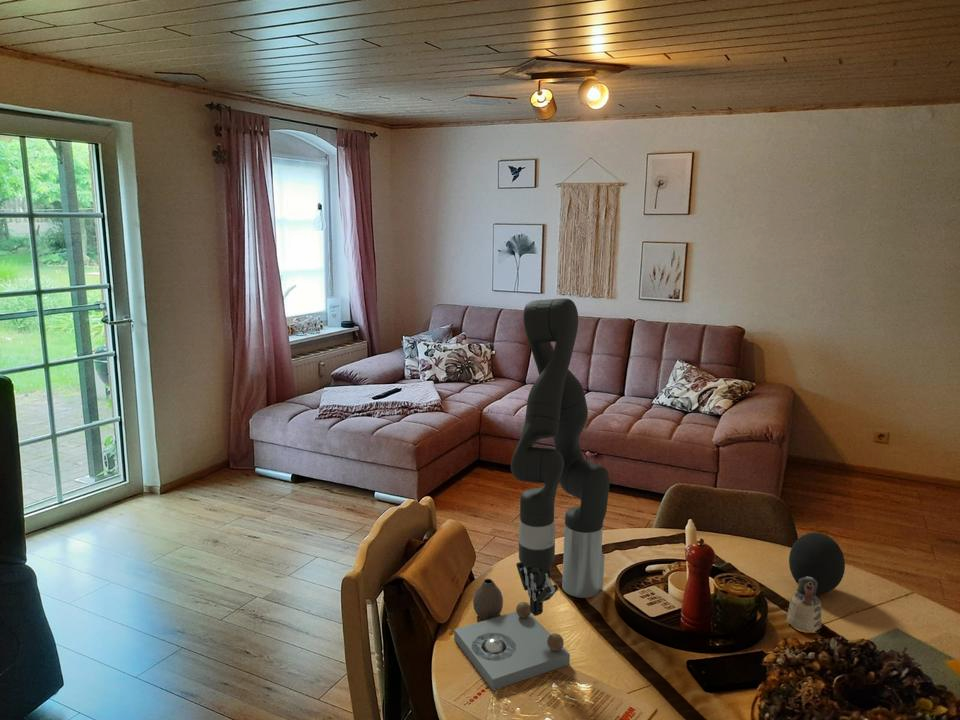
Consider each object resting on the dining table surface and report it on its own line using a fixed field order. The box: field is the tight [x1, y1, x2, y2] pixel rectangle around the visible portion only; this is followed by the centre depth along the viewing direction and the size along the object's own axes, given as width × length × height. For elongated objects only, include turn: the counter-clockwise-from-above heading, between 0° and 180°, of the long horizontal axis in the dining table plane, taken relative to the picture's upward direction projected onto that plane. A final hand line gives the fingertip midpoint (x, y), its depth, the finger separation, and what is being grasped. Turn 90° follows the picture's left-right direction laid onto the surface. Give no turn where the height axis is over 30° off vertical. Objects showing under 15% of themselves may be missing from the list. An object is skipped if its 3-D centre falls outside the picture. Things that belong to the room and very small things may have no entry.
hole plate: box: [453, 611, 571, 691], centre depth 143 cm, size 18×18×2 cm
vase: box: [472, 578, 504, 621], centre depth 155 cm, size 7×7×9 cm
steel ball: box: [484, 638, 503, 654], centre depth 141 cm, size 4×4×4 cm
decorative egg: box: [788, 532, 846, 595], centre depth 167 cm, size 12×12×15 cm
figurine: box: [786, 577, 823, 631], centre depth 153 cm, size 7×7×12 cm
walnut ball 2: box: [547, 632, 565, 651], centre depth 140 cm, size 3×3×3 cm
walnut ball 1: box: [515, 601, 532, 618], centre depth 151 cm, size 3×3×3 cm
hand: (536, 613), depth 144 cm, fingers closed
